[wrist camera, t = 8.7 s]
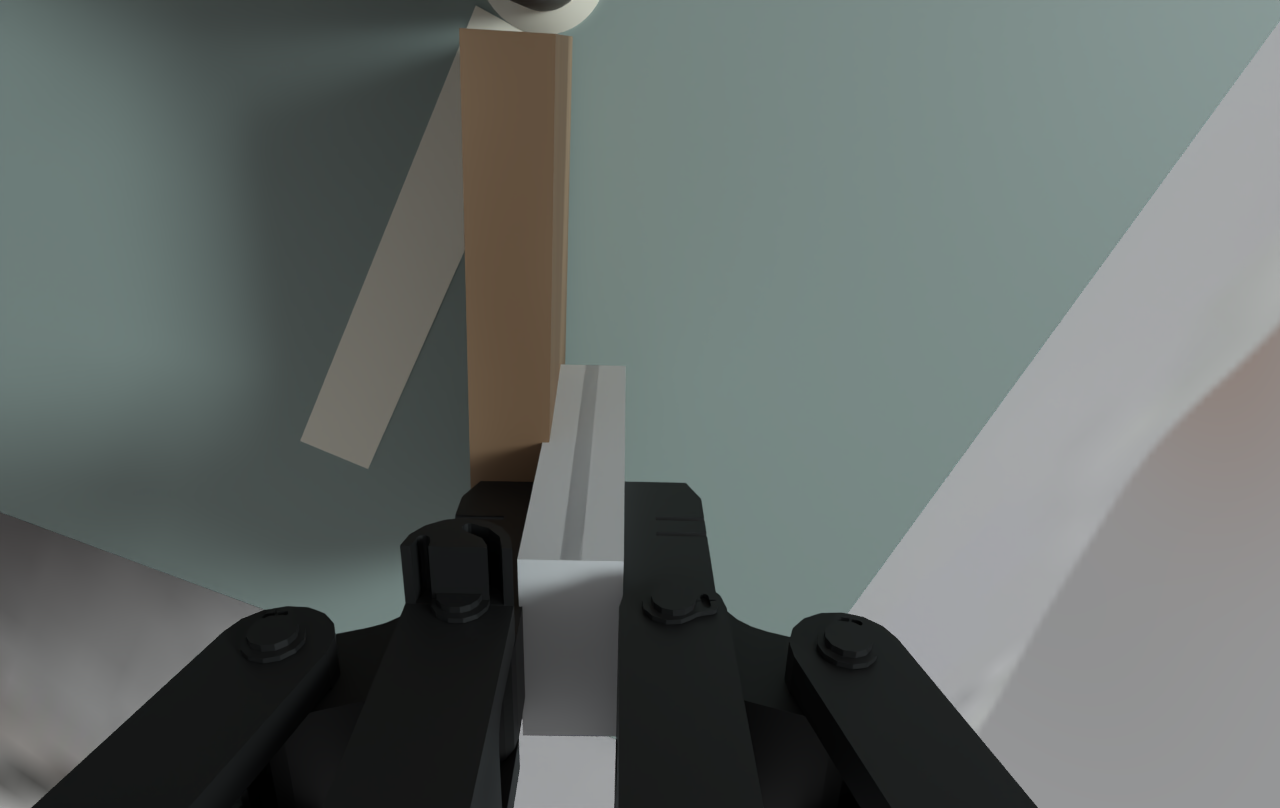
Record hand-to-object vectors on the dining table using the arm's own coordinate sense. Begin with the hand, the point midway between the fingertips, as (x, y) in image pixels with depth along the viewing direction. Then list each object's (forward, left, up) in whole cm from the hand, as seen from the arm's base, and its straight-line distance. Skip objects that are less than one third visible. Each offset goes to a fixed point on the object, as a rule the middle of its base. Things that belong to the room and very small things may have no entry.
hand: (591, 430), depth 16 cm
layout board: (+3, +3, -3) cm, 5 cm away
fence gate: (+1, +2, -2) cm, 3 cm away
